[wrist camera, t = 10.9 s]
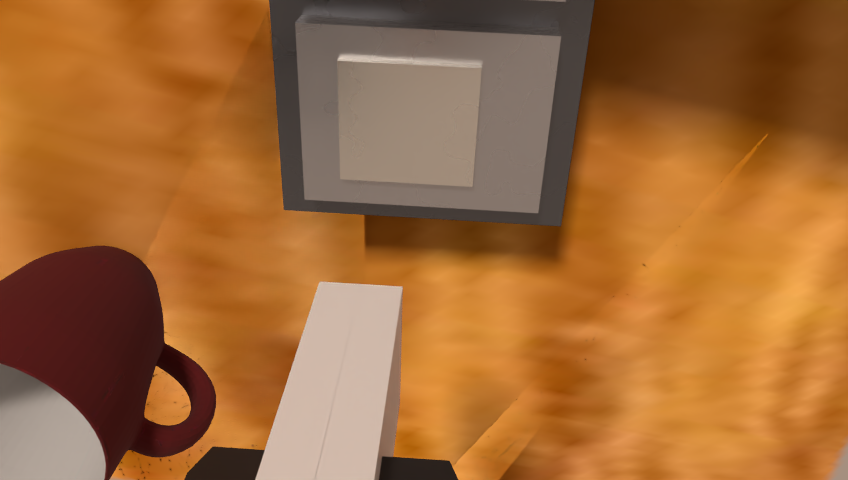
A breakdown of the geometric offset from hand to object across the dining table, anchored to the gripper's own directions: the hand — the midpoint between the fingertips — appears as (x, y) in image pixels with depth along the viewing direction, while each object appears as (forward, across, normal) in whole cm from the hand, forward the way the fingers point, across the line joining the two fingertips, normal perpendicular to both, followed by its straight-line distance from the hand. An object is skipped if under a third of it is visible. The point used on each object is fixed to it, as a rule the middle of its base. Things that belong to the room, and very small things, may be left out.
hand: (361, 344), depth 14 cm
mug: (+17, -12, -11) cm, 24 cm away
